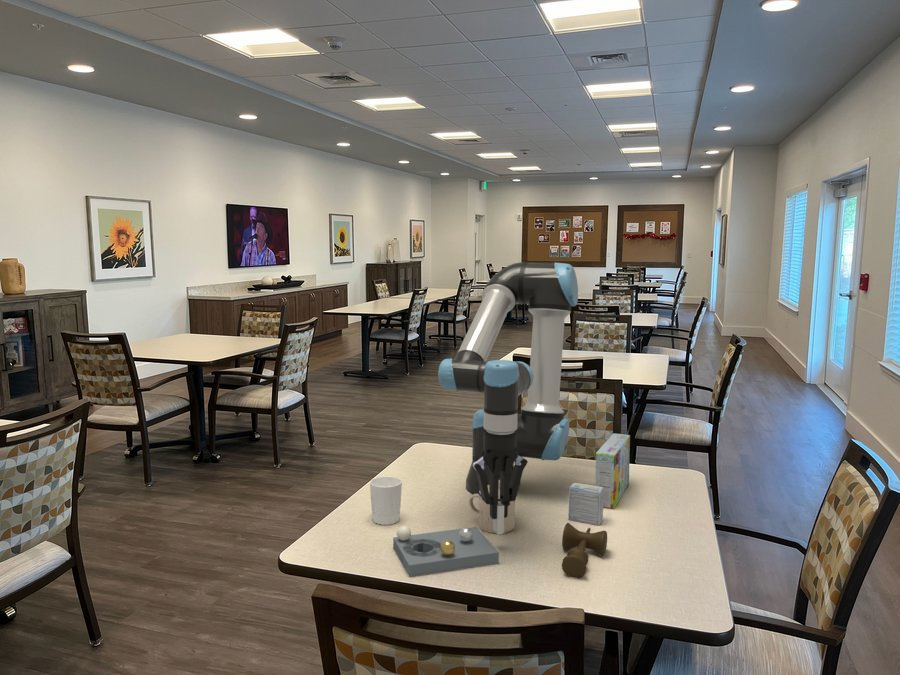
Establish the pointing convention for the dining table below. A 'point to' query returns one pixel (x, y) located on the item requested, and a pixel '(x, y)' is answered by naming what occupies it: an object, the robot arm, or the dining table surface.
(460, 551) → the gray ball tray
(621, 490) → the snack box
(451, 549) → the brass ball
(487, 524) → the teacup with lid
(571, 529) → the kendama
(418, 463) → the dining table surface
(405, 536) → the white ball
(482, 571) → the dining table surface
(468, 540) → the steel ball
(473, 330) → the robot arm
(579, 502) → the medicine box
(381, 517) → the white cup
